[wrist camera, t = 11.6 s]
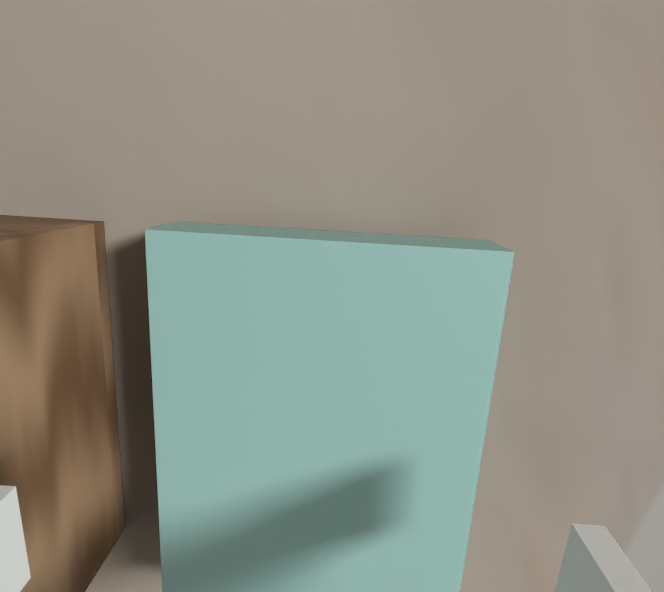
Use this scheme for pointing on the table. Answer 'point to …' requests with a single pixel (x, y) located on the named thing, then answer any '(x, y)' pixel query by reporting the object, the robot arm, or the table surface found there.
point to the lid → (319, 404)
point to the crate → (59, 398)
